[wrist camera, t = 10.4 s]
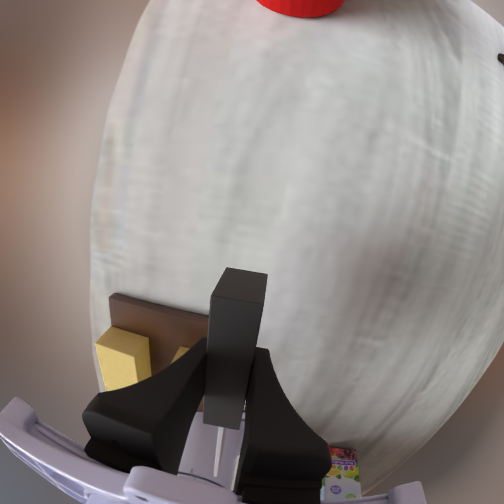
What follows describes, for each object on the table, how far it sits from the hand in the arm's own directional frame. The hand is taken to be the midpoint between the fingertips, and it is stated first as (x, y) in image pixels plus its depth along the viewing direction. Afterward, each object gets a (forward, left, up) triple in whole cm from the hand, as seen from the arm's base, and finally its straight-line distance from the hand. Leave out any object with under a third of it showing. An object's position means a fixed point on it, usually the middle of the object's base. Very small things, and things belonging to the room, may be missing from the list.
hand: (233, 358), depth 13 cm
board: (-9, +7, -8) cm, 14 cm away
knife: (-4, 0, -2) cm, 4 cm away
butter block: (-9, +10, -7) cm, 15 cm away
